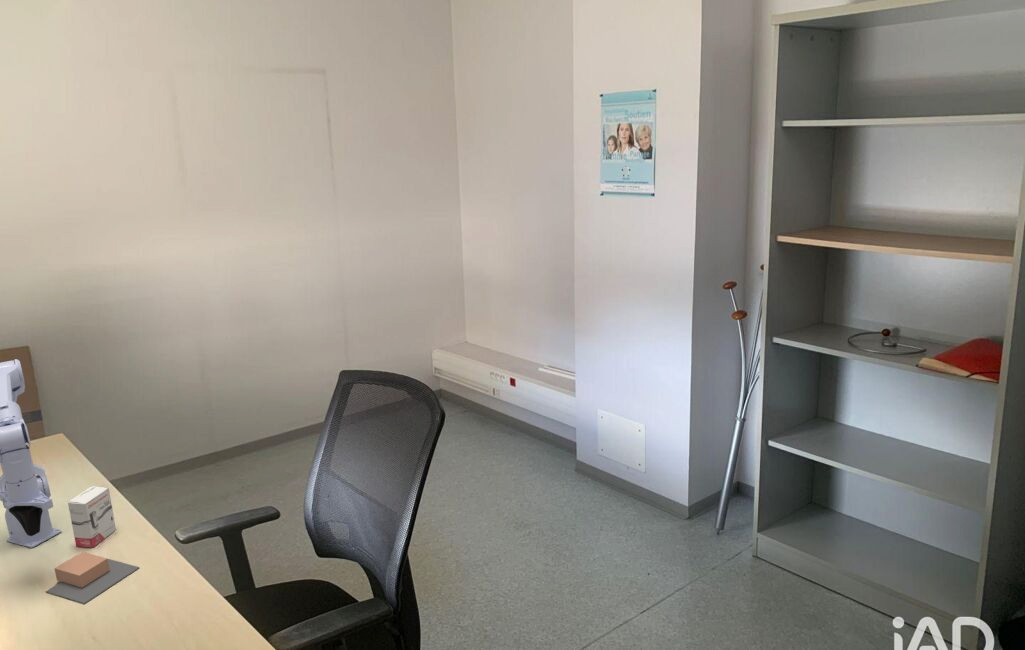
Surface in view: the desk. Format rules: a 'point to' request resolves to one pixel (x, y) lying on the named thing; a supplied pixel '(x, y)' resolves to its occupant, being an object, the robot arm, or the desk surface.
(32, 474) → the robot arm
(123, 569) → the rubber mat
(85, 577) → the salmon tan block
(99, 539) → the ink box
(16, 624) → the desk surface
